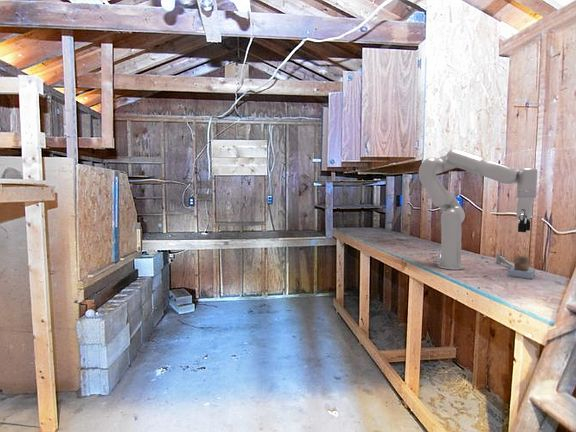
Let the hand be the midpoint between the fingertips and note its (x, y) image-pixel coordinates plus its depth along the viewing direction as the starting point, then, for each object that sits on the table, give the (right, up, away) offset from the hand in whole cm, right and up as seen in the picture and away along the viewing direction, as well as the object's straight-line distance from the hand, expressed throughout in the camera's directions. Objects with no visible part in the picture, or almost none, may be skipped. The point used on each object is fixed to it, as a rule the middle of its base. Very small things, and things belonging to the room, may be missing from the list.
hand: (523, 231), depth 163 cm
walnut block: (0, -18, +1) cm, 18 cm away
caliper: (+5, -20, +21) cm, 29 cm away
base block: (0, -21, +1) cm, 21 cm away
